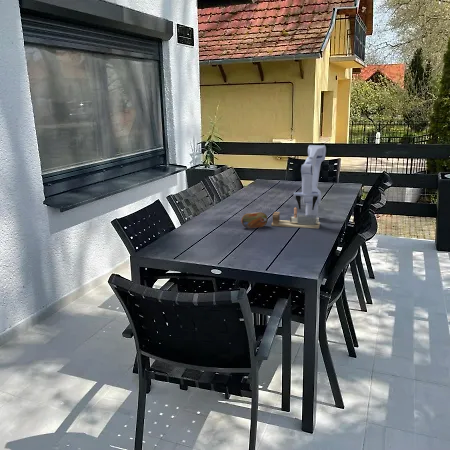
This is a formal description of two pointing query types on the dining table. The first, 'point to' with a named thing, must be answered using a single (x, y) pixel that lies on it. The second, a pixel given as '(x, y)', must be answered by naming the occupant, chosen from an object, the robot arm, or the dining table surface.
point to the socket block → (276, 217)
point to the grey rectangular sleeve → (306, 219)
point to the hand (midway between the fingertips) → (306, 209)
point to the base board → (294, 224)
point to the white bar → (295, 218)
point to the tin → (254, 220)
